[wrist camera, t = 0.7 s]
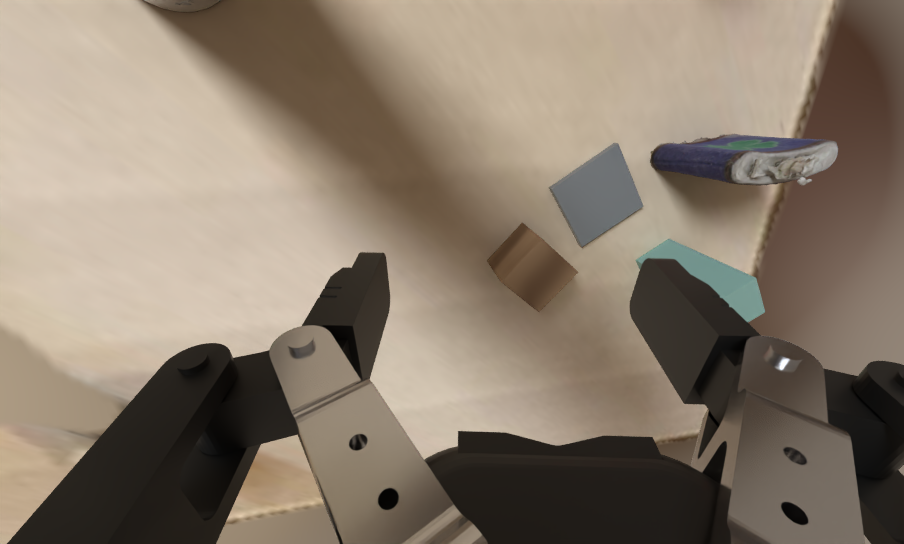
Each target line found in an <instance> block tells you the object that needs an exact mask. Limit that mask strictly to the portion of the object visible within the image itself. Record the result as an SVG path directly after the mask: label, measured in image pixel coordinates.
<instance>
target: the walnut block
mask: <svg viewBox="0 0 904 544" xmlns="http://www.w3.org/2000/svg"><path fill="white" fill-rule="evenodd" d="M487 262H488V263H489V265H490V266H491V268H492V269H493V271H494V272H495V274H496V275H497V276H498V278H499V279H500V281H501V282H502V283H503V284H504V285H506V286H507V287H508V288H509V289H511V290H512V291H513V292H514V293H516V294H517V295H518V296H519V297H521V298H522V299H523V300H524V301H526V302H527V303H528V304H529V305H531V306H532V307H533V308H534V309H536V310H537V311H538V312H539V311H540V310H541V309H542V308H543V307H544V306H545V305H546V304H547V303H548V302H549V301H550V300H551V299H552V298H553V297H554V296H555V295H556V294H557V293H558V292H559V291H560V290H561V289H562V288H563V287H564V286H565V285H566V284H567V283H568V282H569V281H570V280H571V279H572V278H573V277H574V276H575V275H576V274H577V273H578V271H576V270H575V269H574V268H573V267H572V266H571V265H570V264H569V263H568V262H567V261H566V260H565V259H563V258H562V257H561V256H560V255H559V254H558V253H557V252H556V251H555V250H554V249H553V248H551V247H550V246H549V245H548V244H547V243H546V242H545V241H544V240H543V239H542V238H540V237H539V236H538V235H537V234H535V233H534V232H533V231H532V230H531V229H529V228H528V227H527V226H526V225H524V224H523V223H521V224H520V226H519V227H518V228H517V229H516V230H515V231H514V232H513V233H512V234H511V235H510V236H509V238H508V239H507V240H506V241H505V242H504V243H503V244H502V245H501V246H500V247H499V248H498V250H497V251H496V252H495V253H494V254H493V255H492V256H491V257H490V258H489V259H488V260H487Z"/></svg>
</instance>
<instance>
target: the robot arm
mask: <svg viewBox="0 0 904 544" xmlns="http://www.w3.org/2000/svg"><path fill="white" fill-rule="evenodd" d="M144 1H146V2H148V3H151V4H153V5H155V6H158V7H160V8H163V9H167V10H172V11H177V12H196V11H199V10H203V9H206V8H209V7H211V6H213V5H214V4H216V3H217V2H219V1H221V0H144ZM389 308H390V290H389V281H388V271H387V262H386V256H385V254H384V253H365V252H361V253H359V255H358V257H357V259H356V261H355V263H354V265H353V266H352V268H342V269H340V270H339V271H338V272H336V273H335V274H334V275H332V276H331V277H330V279H329V281H328V282H327V284H326V286H325V289H323V291H322V293H321V294H320V298H318V299H317V301H316V303H315V305H314V306H313V308H312V310H311V311H310V313H309V315H308V316H307V318H306V320H305V321H304V323H303V325H302V326H301V327H297V328H294V329H292V330H289V331H287V332H285V333H284V334H282V335H281V336H279V337H278V338H277V339H276V340H275V341H274V342H273V344H272V345H271V347H270V350H269V351H265V352H261V353H256V354H251V355H246V356H241V357H236V358H233V357H232V355H231V352H230V350H229V349H228V348H227V347H226V346H224V345H222V344H217V343H207V344H201V345H197V346H194V347H191V348H188V349H186V350H184V351H181V352H180V353H178V354H176V355H175V356H173V357H172V358H170V359H169V360H168V361H166V362H165V363H164V364H163V365H162V367H161V368H160V369H159V370H158V371H157V372H156V373H155V375H154V376H153V377H152V378H151V379H150V380H149V381H148V383H147V384H146V385H145V386H144V387H143V388H142V389H141V391H140V392H139V393H138V394H137V395H136V396H135V398H134V399H133V400H132V401H131V402H130V403H129V404H128V406H127V407H126V408H125V409H124V410H123V411H122V412H121V414H120V415H119V416H118V417H117V418H116V419H115V420H114V422H113V423H112V424H111V425H110V426H109V427H108V428H107V430H106V431H105V432H104V433H103V434H102V435H101V437H100V438H99V439H98V440H97V441H96V442H95V443H94V445H93V446H92V447H91V448H90V449H89V450H88V451H87V453H86V454H85V455H84V456H83V457H82V458H81V459H80V461H79V462H78V463H77V464H76V465H75V466H74V467H73V469H72V470H71V471H70V472H69V473H68V474H67V476H66V477H65V478H64V479H63V480H62V481H61V482H60V484H59V485H58V486H57V487H56V488H55V489H54V490H53V492H52V493H51V494H50V495H49V496H48V497H47V498H46V500H45V501H44V502H43V503H42V504H41V505H40V506H39V508H38V509H37V510H36V511H35V512H34V513H33V514H32V516H31V517H30V518H29V519H28V520H27V521H26V523H25V524H24V525H23V526H22V527H21V528H20V529H19V531H18V532H17V533H16V534H15V535H14V536H13V537H12V539H11V540H10V541H9V542H8V543H7V544H216V542H217V540H218V538H219V535H220V533H221V531H222V529H223V527H224V525H225V522H226V520H227V518H228V516H229V514H230V511H231V509H232V507H233V505H234V502H235V500H236V498H237V496H238V494H239V491H240V489H241V487H242V485H243V483H244V480H245V478H246V476H247V474H248V471H249V469H250V467H251V465H252V463H253V460H254V458H255V456H256V454H257V451H258V449H259V447H260V445H261V444H263V443H267V442H270V441H274V440H278V439H282V438H286V437H289V436H293V435H297V434H298V437H299V440H300V442H301V445H302V447H303V450H304V453H305V455H306V458H307V460H308V463H309V465H310V468H311V471H312V473H313V476H314V478H315V481H316V484H317V486H318V489H319V491H320V494H321V497H322V499H323V502H324V505H325V507H326V510H327V513H328V515H329V518H330V521H331V523H332V526H333V529H334V531H335V534H336V536H337V539H338V542H339V544H865V540H864V535H865V536H866V537H867V539H868V540H869V541H870V543H871V544H904V476H903V475H902V474H901V473H900V472H899V471H898V469H900V468H901V467H902V466H903V465H904V365H901V364H897V363H893V362H886V361H874V362H871V363H869V364H868V365H867V366H866V367H865V369H864V370H863V371H862V372H861V373H860V374H859V376H854V375H849V374H845V373H841V372H836V371H832V370H827V369H823V367H822V365H821V363H820V362H819V361H818V360H817V359H816V358H815V357H814V356H812V355H811V354H810V353H808V352H807V351H806V350H804V349H802V348H800V347H799V346H796V345H794V344H792V343H790V342H787V341H785V340H782V339H778V338H774V337H769V336H761V335H760V334H759V333H758V332H756V330H755V329H754V328H753V327H751V325H750V324H749V323H748V322H747V321H745V320H744V319H743V318H742V317H741V316H740V315H739V314H738V313H737V312H736V311H735V310H734V309H733V308H732V307H729V304H728V303H727V302H726V301H725V300H724V299H723V298H720V295H719V294H718V293H717V292H716V291H715V290H714V289H713V288H712V287H711V286H710V285H709V284H707V283H705V282H703V281H702V280H700V279H698V278H696V277H695V276H693V275H691V274H690V273H689V272H688V271H687V270H686V269H685V268H684V267H683V266H682V265H681V264H680V263H679V262H678V261H677V260H675V259H665V258H647V259H645V260H644V262H643V263H642V266H641V269H640V272H639V275H638V278H637V281H636V284H635V287H634V290H633V294H632V297H631V300H630V314H631V317H632V319H633V321H634V323H635V325H636V326H637V328H638V329H639V331H640V333H641V334H642V336H643V338H644V339H645V341H646V342H647V344H648V346H649V347H650V349H651V351H652V352H653V354H654V355H655V357H656V359H657V360H658V362H659V364H660V365H661V367H662V369H663V370H664V372H665V373H666V375H667V377H668V378H669V380H670V382H671V383H672V385H673V386H674V388H675V390H676V391H677V393H678V395H679V396H680V398H681V400H682V401H683V403H684V404H705V405H706V406H707V408H708V410H707V412H706V413H705V415H704V417H703V420H702V424H701V428H700V432H699V436H698V439H697V444H696V448H695V451H694V455H693V459H692V463H691V466H689V465H687V464H685V463H682V462H680V461H678V460H675V459H673V458H670V457H667V456H665V455H661V454H660V452H659V450H658V448H657V446H656V444H655V442H654V440H653V437H630V436H601V437H596V438H592V439H588V440H583V441H579V442H575V443H570V444H566V445H561V446H555V445H550V444H546V443H543V442H539V441H535V440H531V439H528V438H524V437H520V436H516V435H512V434H509V433H500V432H467V431H458V446H457V447H453V448H449V449H446V450H443V451H441V452H438V453H436V454H434V455H432V456H430V457H428V458H426V459H425V460H424V459H423V458H422V456H421V455H420V453H419V452H418V450H417V449H416V447H415V446H414V444H413V443H412V441H411V440H410V438H409V437H408V435H407V434H406V432H405V431H404V429H403V428H402V426H401V425H400V423H399V422H398V420H397V419H396V417H395V416H394V414H393V413H392V411H391V410H390V408H389V407H388V405H387V404H386V402H385V401H384V399H383V398H382V396H381V395H380V393H379V392H378V390H377V389H376V387H375V386H374V384H373V383H372V382H371V381H370V380H369V379H370V376H371V372H372V369H373V365H374V362H375V358H376V355H377V351H378V348H379V345H380V341H381V338H382V334H383V331H384V327H385V324H386V320H387V317H388V314H389Z"/></svg>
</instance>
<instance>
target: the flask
mask: <svg viewBox="0 0 904 544" xmlns="http://www.w3.org/2000/svg"><path fill="white" fill-rule="evenodd" d="M837 154H838V147H837V143H836V142H835V141H830V140H823V139H822V140H814V139H794V138H775V137H760V136H748V135H738V134H732V135H720V137H717V138H712V139H710V138H700V139H696V140H695V141H693V142H691V143H686V141H684V142H682V143H681V144H676V143H674V142H673V143H666V144H660V145H659V146H658V147H657V148H655V149H654V151H652V152H651V159H650V163H651V166H652V167H653V168H655V169H658V170H661V171H672V172H679V173H683V174H689V175H694V176H698V177H705V178H710V179H715V180H720V181H725V182H729V183H734V184H744V185H770V184H778V183H784V182H789V181H792V180H797V179H799V180H798V184H800V185H805V184H806V183H809V182H811V181H812V180H811V179H808V180H806V179H805V177H807V176H809V175H813V174H816V173H818V172H820V171H823V170H825V169H827V168H829V167H830V166H831V165H832V163H833V162H834V161H835V159H836V157H837Z"/></svg>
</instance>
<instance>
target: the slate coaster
mask: <svg viewBox="0 0 904 544" xmlns="http://www.w3.org/2000/svg"><path fill="white" fill-rule="evenodd" d="M549 189H550V191H551V193H552V195H553V197H554V199H555V200H556V202H557V204H558V206H559V208H560V210H561V212H562V214H563V216H564V218H565V219H566V221H567V223H568V225H569V227H570V229H571V231H572V233H573V235H574V237H575V238H576V240H577V242H578V244H579V245H580V246H581V247H583V246H584V245H586V244H587V243H589V242H590V241H592V240H593V239H595V238H596V237H598V236H599V235H601V234H602V233H604V232H605V231H607V230H608V229H610V228H611V227H613V226H614V225H616V224H617V223H619V222H620V221H622V220H623V219H625V218H626V217H628V216H630V215H631V214H633V213H634V212H636V211H637V210H639V209H640V208H642V207H643V204H642V202H641V199H640V197H639V194H638V192H637V189H636V187H635V184H634V182H633V179H632V177H631V174H630V172H629V169H628V167H627V164H626V162H625V159H624V157H623V154H622V152H621V149H620V147H619V144H617V143H613V144H612V145H610V146H609V147H608V148H606V149H605V150H603V151H602V152H600V153H599V154H597V155H596V156H594V157H593V158H592V159H590V160H589V161H587V162H586V163H584V164H583V165H581V166H580V167H578V168H577V169H575V170H574V171H573V172H571V173H570V174H568V175H567V176H565V177H564V178H562V179H561V180H559V181H558V182H557V183H555V184H554V185H552V186H551V187H549Z"/></svg>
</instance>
